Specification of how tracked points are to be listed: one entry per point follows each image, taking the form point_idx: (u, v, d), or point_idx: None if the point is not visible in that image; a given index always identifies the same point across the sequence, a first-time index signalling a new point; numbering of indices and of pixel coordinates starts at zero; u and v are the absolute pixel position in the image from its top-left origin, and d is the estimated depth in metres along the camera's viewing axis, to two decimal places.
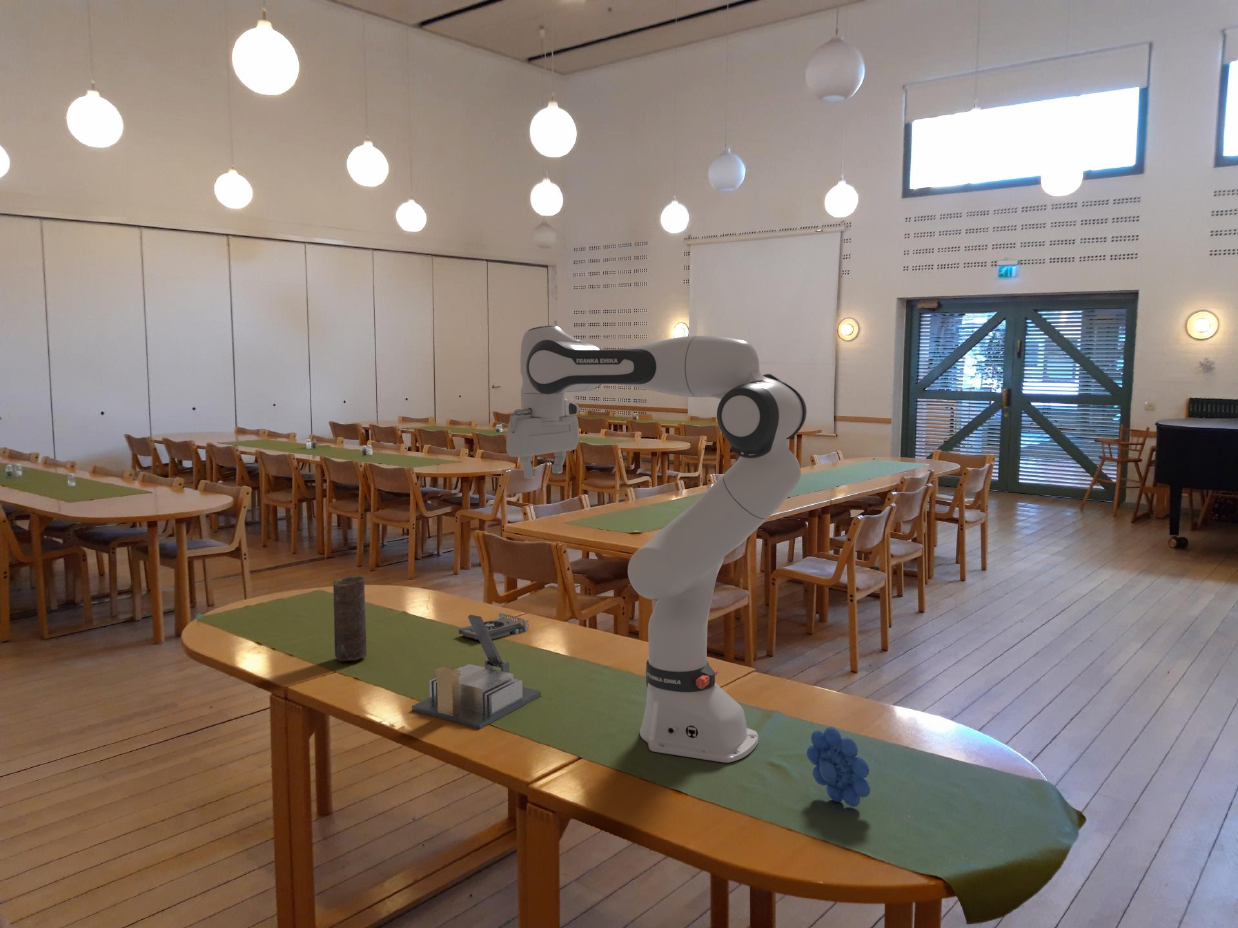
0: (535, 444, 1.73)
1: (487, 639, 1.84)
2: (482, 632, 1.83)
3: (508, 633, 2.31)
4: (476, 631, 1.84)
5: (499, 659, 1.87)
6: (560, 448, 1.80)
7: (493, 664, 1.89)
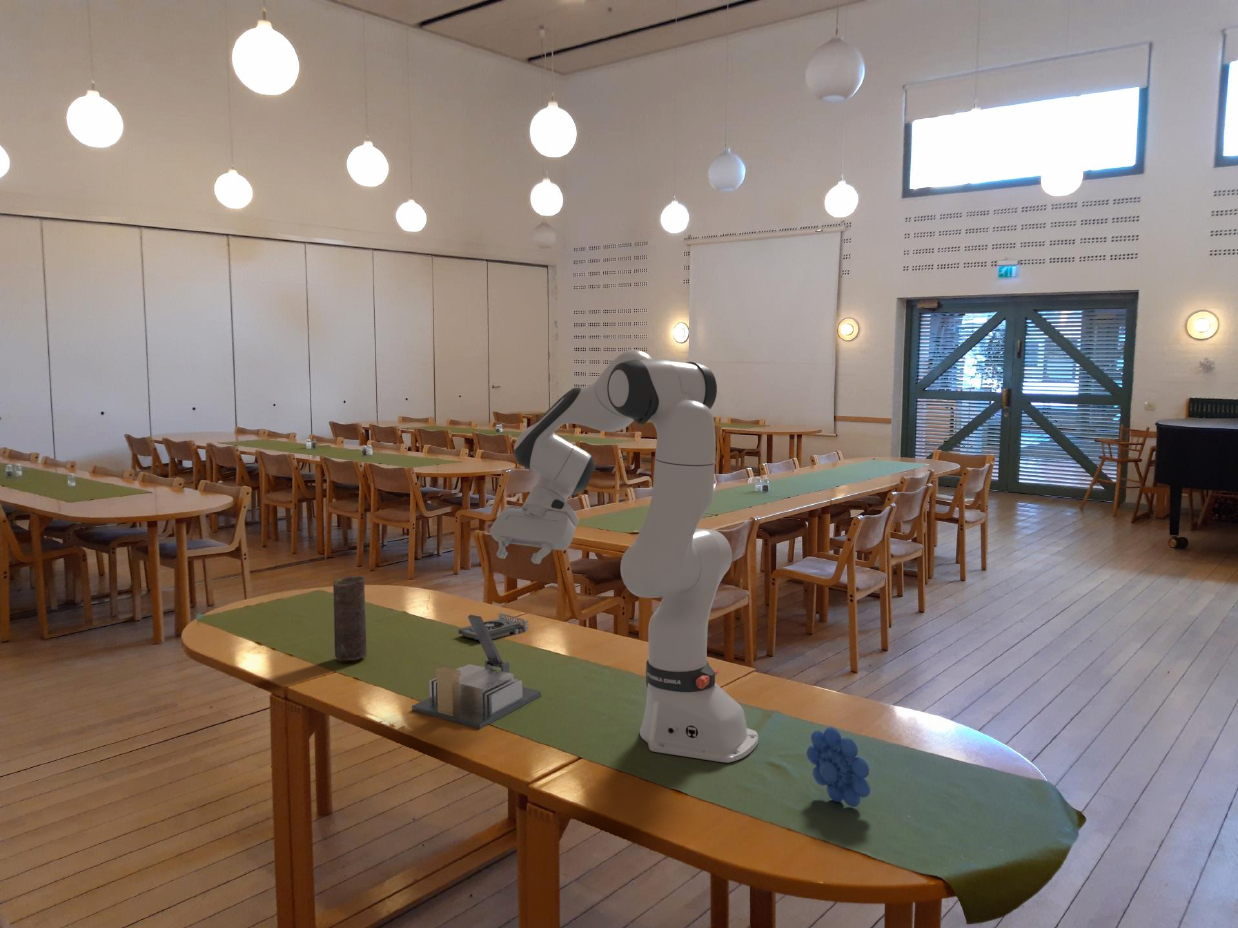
0: (508, 527, 1.98)
1: (487, 639, 1.84)
2: (482, 632, 1.83)
3: (508, 633, 2.31)
4: (476, 631, 1.84)
5: (499, 659, 1.87)
6: (536, 536, 1.93)
7: (493, 664, 1.89)
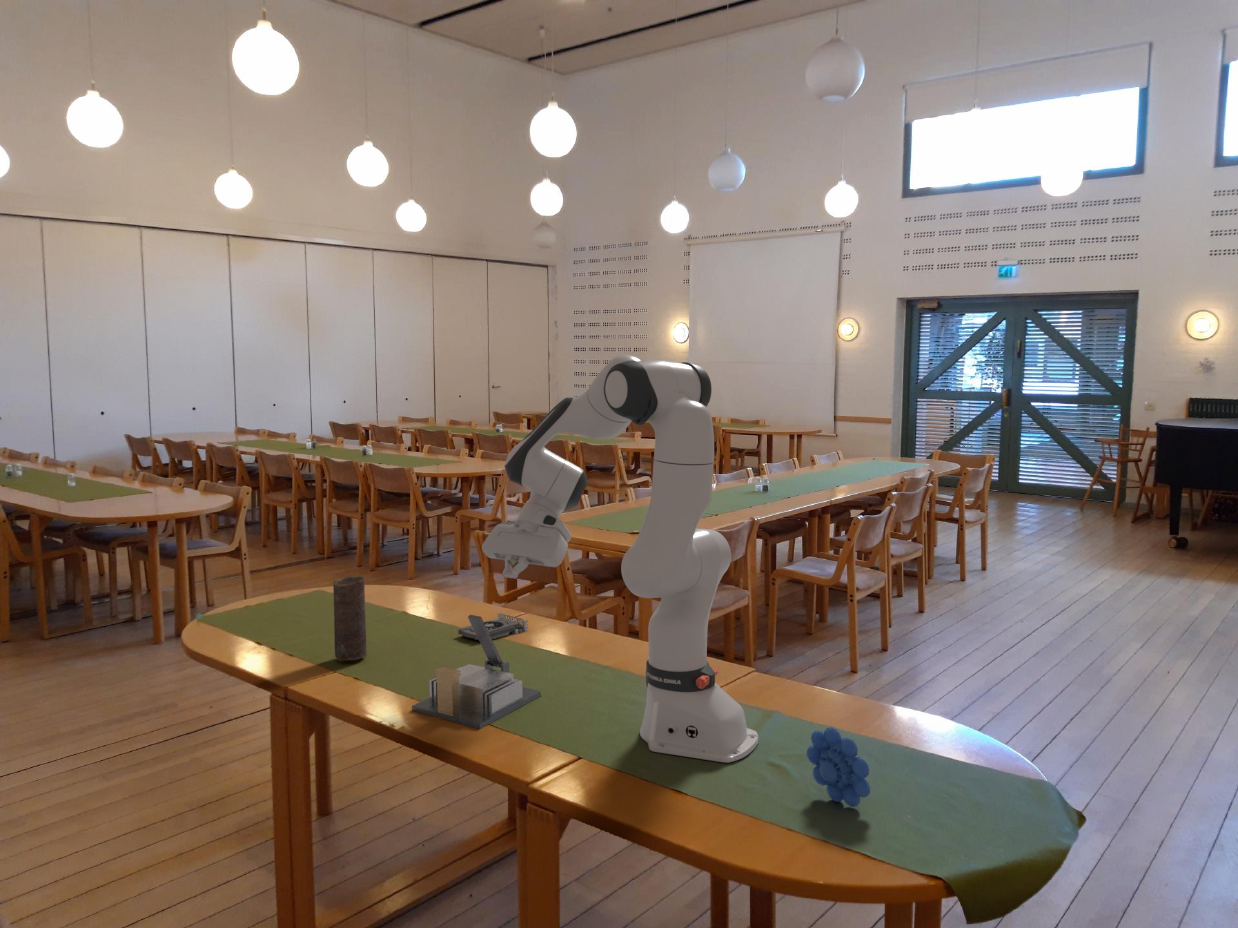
0: (500, 543, 1.96)
1: (487, 639, 1.84)
2: (482, 632, 1.83)
3: (508, 633, 2.31)
4: (476, 631, 1.84)
5: (499, 659, 1.87)
6: (528, 553, 1.91)
7: (493, 664, 1.89)
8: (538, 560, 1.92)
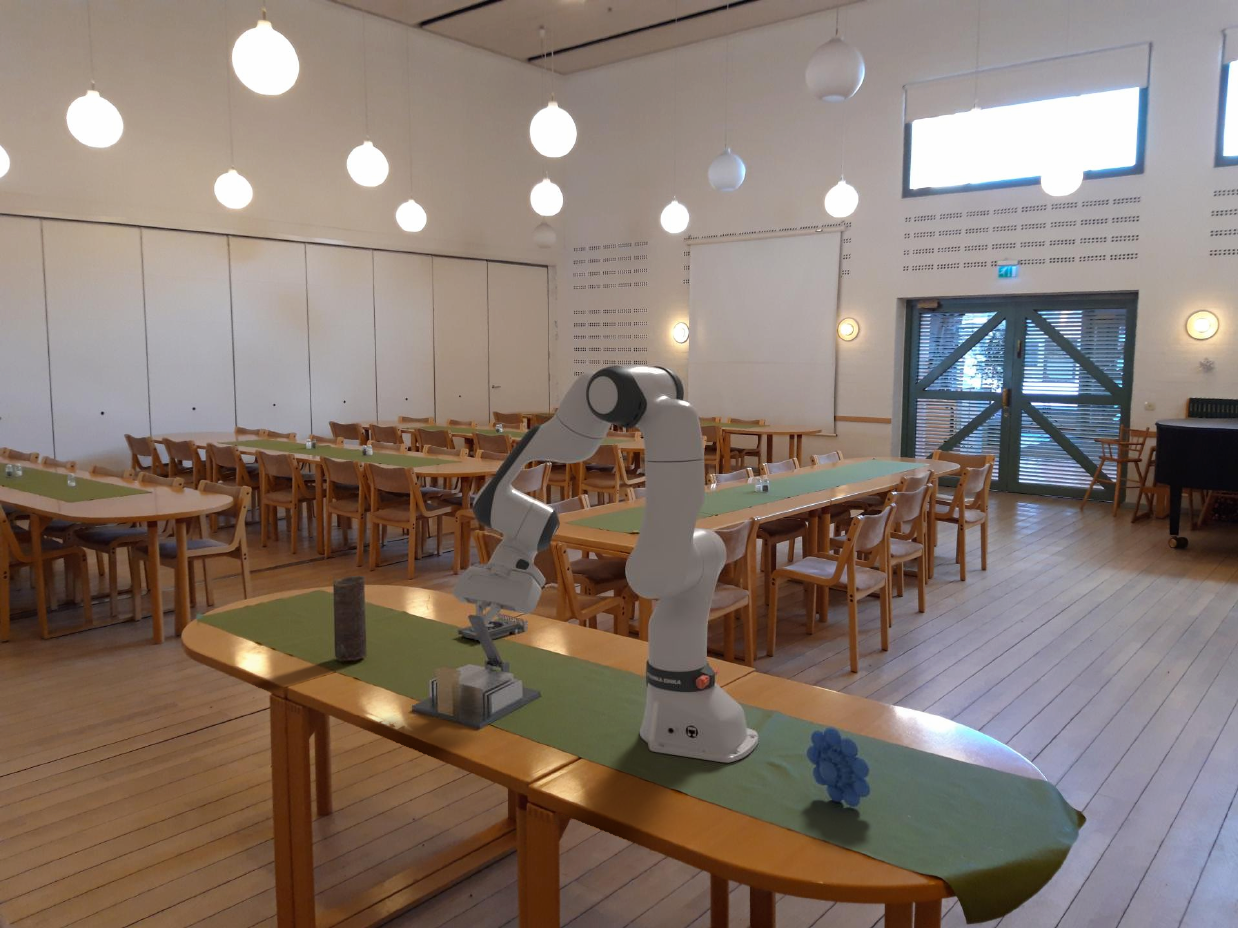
0: (471, 587, 1.88)
1: (487, 639, 1.84)
2: (482, 632, 1.83)
3: (507, 633, 2.31)
4: (476, 631, 1.84)
5: (499, 659, 1.87)
6: (499, 598, 1.83)
7: (493, 664, 1.89)
8: (510, 606, 1.84)
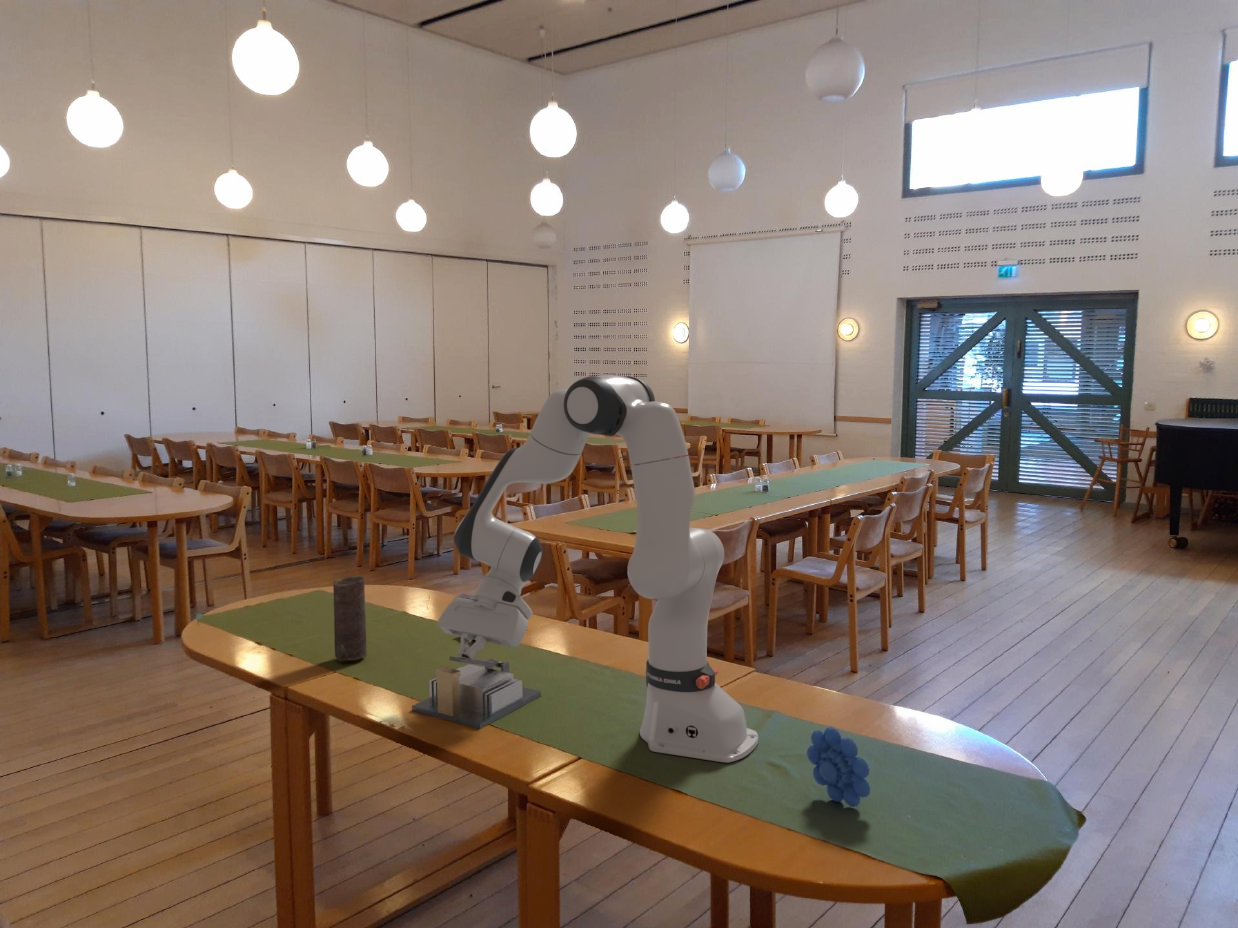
0: (457, 619, 1.85)
1: None
2: None
3: None
4: None
5: (497, 664, 1.87)
6: (485, 631, 1.80)
7: (494, 665, 1.89)
8: (496, 639, 1.81)
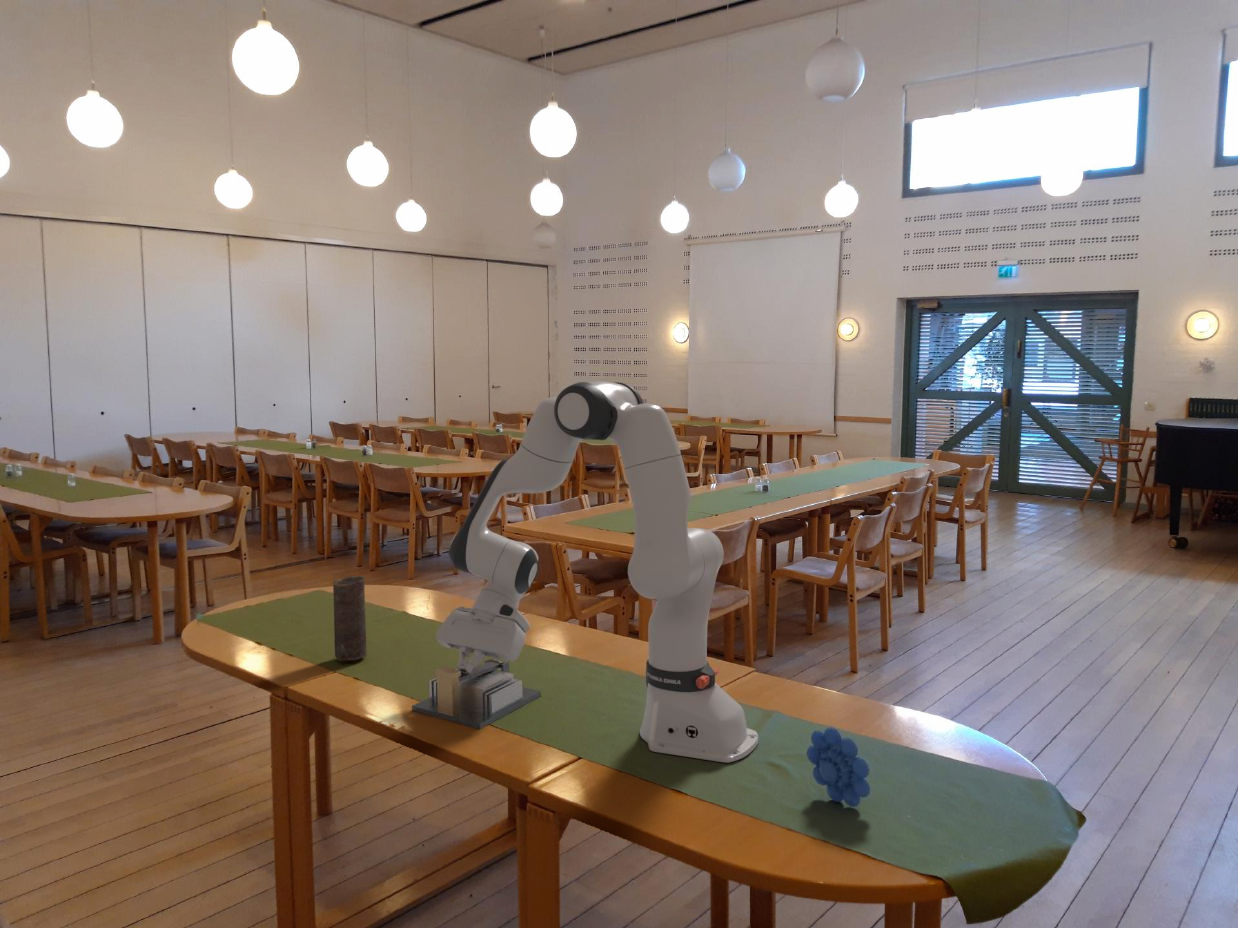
0: (455, 633, 1.85)
1: None
2: None
3: None
4: None
5: (497, 667, 1.87)
6: (483, 645, 1.80)
7: None
8: (494, 653, 1.81)
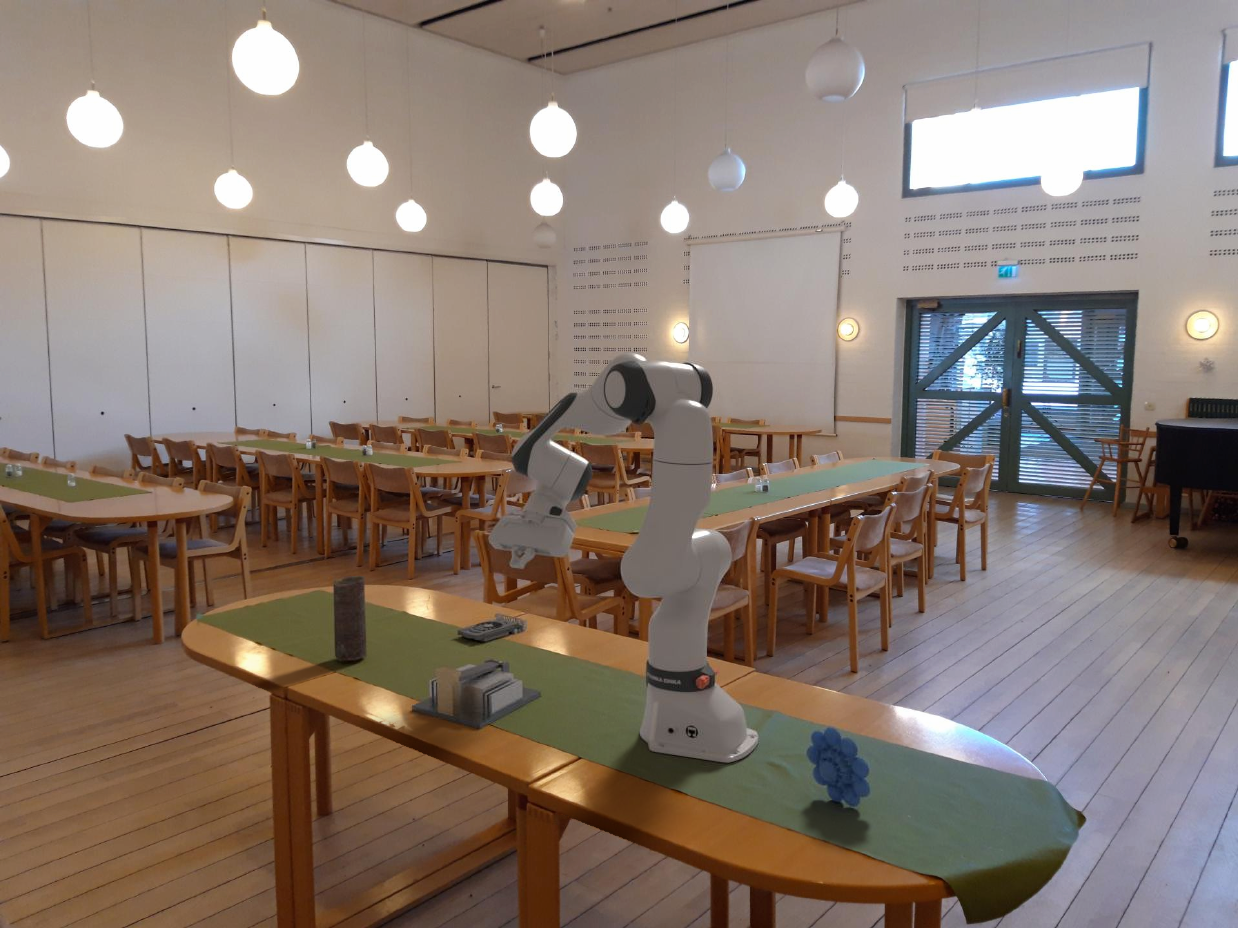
0: (507, 534, 1.98)
1: None
2: None
3: (507, 633, 2.31)
4: None
5: (497, 667, 1.87)
6: (534, 543, 1.93)
7: None
8: (544, 550, 1.94)
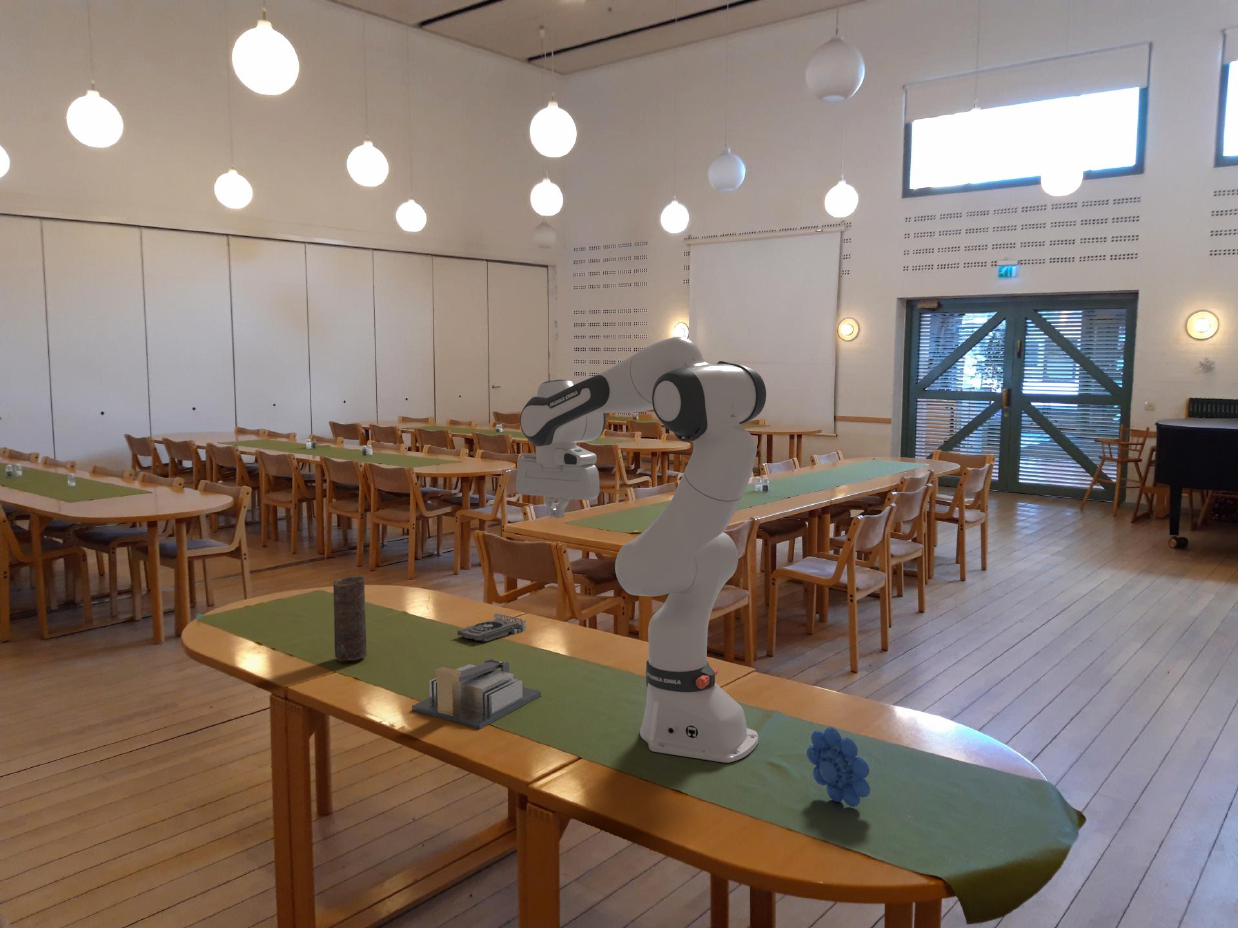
0: (533, 485, 1.93)
1: None
2: None
3: (507, 633, 2.31)
4: None
5: (497, 667, 1.87)
6: (564, 495, 1.89)
7: None
8: None
